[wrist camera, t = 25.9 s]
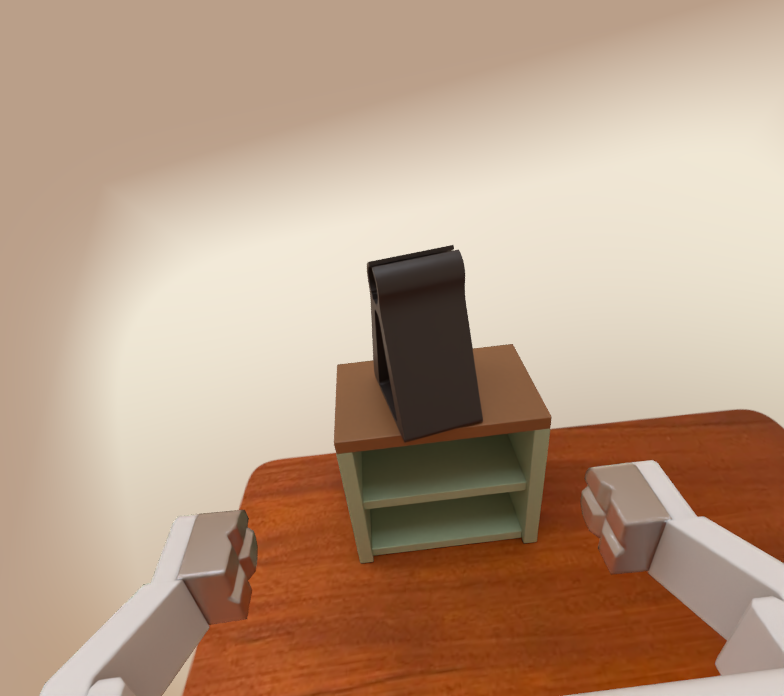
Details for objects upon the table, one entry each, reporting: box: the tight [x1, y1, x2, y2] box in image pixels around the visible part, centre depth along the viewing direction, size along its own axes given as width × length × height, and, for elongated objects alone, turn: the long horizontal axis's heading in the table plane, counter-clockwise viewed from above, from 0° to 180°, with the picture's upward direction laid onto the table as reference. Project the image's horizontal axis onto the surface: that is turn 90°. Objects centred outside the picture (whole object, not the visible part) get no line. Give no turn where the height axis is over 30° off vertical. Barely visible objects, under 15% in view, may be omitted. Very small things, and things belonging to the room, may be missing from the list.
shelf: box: [334, 344, 551, 563], centre depth 43 cm, size 16×10×15 cm, turn 94°
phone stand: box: [367, 245, 483, 443], centre depth 34 cm, size 9×6×12 cm, turn 16°
